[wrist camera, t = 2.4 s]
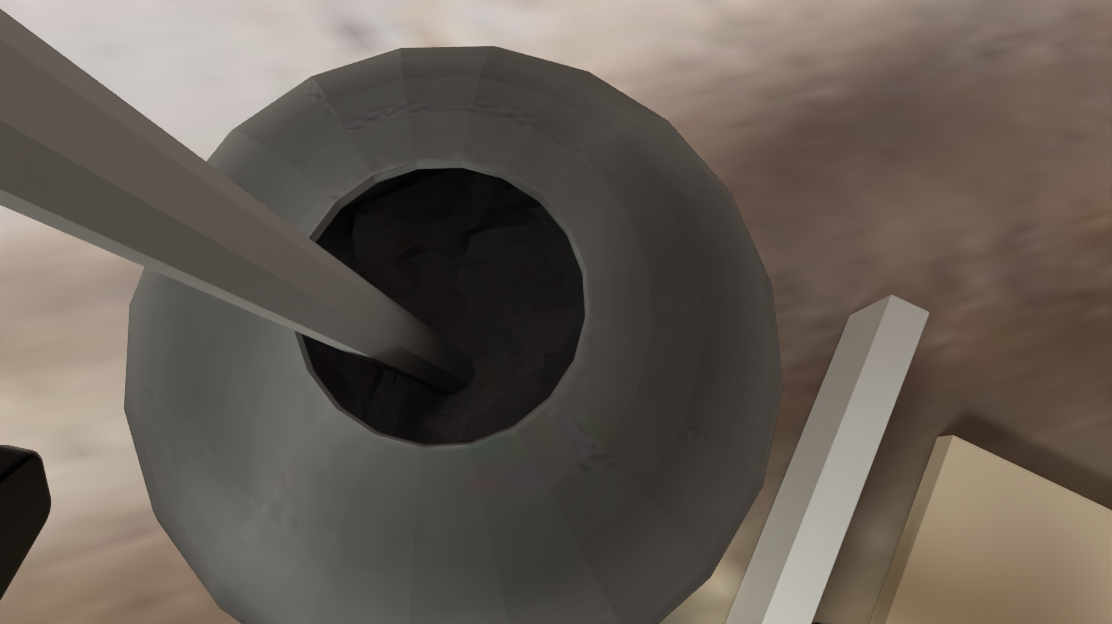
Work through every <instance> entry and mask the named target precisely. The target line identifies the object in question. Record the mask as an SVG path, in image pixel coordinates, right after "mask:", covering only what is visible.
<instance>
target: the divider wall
mask: <svg viewBox="0 0 1112 624" xmlns="http://www.w3.org/2000/svg"><path fill="white" fill-rule="evenodd" d="M929 313H930V312H928V311H926V310H924V309H922V308H919V307H917V306H915V305H913V304H911V303H909V302H907V301H904V300H902V299H900V298H898V297H896V296H894V295H892V294H891V295H889V296H887V297H885V298H883V299H881V300H879V301H877V302H875V303H873V304H871V305H869V306H867V307H865V308H863V309H861V310H859V311H857V312H855V313H853V314H851V315H850V316H849V318H848V321H847V323H846V326H845V328H844V331H843V333H842V336H841V338H840V341H839V343H838V346H837V348H836V350H835V353H834V355H833V358H832V360H831V363H830V365H829V368H828V370H827V373H826V375H825V378H824V380H823V383H822V385H821V388H820V390H819V393H818V395H817V398H816V400H815V403H814V405H813V407H812V410H811V412H810V415H809V417H808V420H807V422H806V425H805V427H804V430H803V432H802V435H801V437H800V440H799V442H798V445H797V447H796V450H795V452H794V455H793V457H792V459H791V462H790V464H789V467H788V469H787V472H786V474H785V477H784V479H783V482H782V484H781V487H780V489H779V492H778V494H777V497H776V499H775V502H774V504H773V507H772V509H771V512H770V514H769V516H768V519H767V521H766V524H765V526H764V529H763V531H762V534H761V536H760V539H759V541H758V544H757V546H756V549H755V551H754V554H753V556H752V559H751V561H750V564H749V566H748V568H747V571H746V573H745V576H744V578H743V581H742V583H741V586H740V588H739V591H738V593H737V596H736V598H735V601H734V603H733V606H732V608H731V611H730V613H729V616H728V618H727V620H726V623H725V624H811V623H812V620H813V617H814V615H815V612H816V610H817V607H818V604H819V602H820V599H821V596H822V594H823V591H824V589H825V586H826V583H827V581H828V578H829V575H830V573H831V570H832V568H833V565H834V562H835V560H836V557H837V554H838V552H839V549H840V547H841V544H842V541H843V539H844V536H845V533H846V531H847V528H848V526H849V523H850V520H851V518H852V515H853V512H854V510H855V507H856V505H857V502H858V499H859V497H860V494H861V491H862V489H863V486H864V484H865V481H866V478H867V476H868V473H869V470H870V468H871V465H872V463H873V460H874V457H875V455H876V452H877V449H878V447H879V444H880V442H881V439H882V436H883V434H884V431H885V428H886V426H887V423H888V421H889V418H890V415H891V413H892V410H893V407H894V405H895V402H896V400H897V397H898V394H899V392H900V389H901V386H902V384H903V381H904V379H905V376H906V373H907V371H908V368H909V365H910V363H911V360H912V358H913V355H914V352H915V350H916V347H917V344H918V342H919V339H920V337H921V334H922V331H923V329H924V326H925V323H926V321H927V318H928V316H929Z"/></svg>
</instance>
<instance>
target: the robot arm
mask: <svg viewBox="0 0 1112 624" xmlns="http://www.w3.org/2000/svg"><path fill="white" fill-rule="evenodd" d="M50 508H51V496H50V492H49V487H48V483H47V478H46V474H45V470H44V465H43V461H42V458H41V456H40V455H39V454H38V453H37V452H35V451H33V450H29V449H24V448H19V447H15V446H10V445H0V600H1V599H2V597H3V595H4V593H5V592H6V590H7V588H8V586H9V585H10V583H11V581H12V580H13V578H14V576H15V574H16V573H17V571H18V569H19V567H20V566H21V564H22V562H23V560H24V559H25V557H26V555H27V554H28V552H29V550H30V548H31V547H32V545H33V543H34V541H35V540H36V538H37V536H38V535H39V533H40V531H41V529H42V528H43V526H44V524H45V522H46V520H47V518H48V515H49V513H50ZM812 624H828V623H823V622H813V623H812Z"/></svg>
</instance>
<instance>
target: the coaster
mask: <svg viewBox="0 0 1112 624" xmlns="http://www.w3.org/2000/svg"><path fill="white" fill-rule="evenodd" d="M869 624H1112V510H1110V509H1108V508H1106V507H1104V506H1102V505H1100V504H1097V503H1095V502H1093V501H1091V500H1089V499H1087V498H1085V497H1083V496H1081V495H1078V494H1076V493H1074V492H1072V491H1070V490H1068V489H1066V488H1064V487H1062V486H1059V485H1057V484H1055V483H1053V482H1051V481H1049V480H1047V479H1045V478H1043V477H1041V476H1038V475H1036V474H1034V473H1032V472H1030V471H1028V470H1026V469H1024V468H1022V467H1019V466H1017V465H1015V464H1013V463H1011V462H1009V461H1007V460H1005V459H1003V458H1000V457H998V456H996V455H994V454H992V453H990V452H988V451H986V450H984V449H981V448H979V447H977V446H975V445H973V444H971V443H969V442H967V441H965V440H962V439H960V438H958V437H956V436H954V435H950V436H941V437H937V439H936V442H935V445H934V448H933V450H932V453H931V456H930V458H929V461H928V464H927V467H926V469H925V472H924V475H923V478H922V480H921V483H920V486H919V489H918V491H917V494H916V497H915V500H914V502H913V505H912V508H911V510H910V513H909V516H908V519H907V521H906V524H905V527H904V530H903V532H902V535H901V538H900V541H899V543H898V546H897V549H896V551H895V554H894V557H893V560H892V562H891V565H890V568H889V571H888V573H887V576H886V579H885V582H884V584H883V587H882V590H881V593H880V595H879V598H878V601H877V603H876V606H875V609H874V612H873V614H872V617H871V620H870V623H869Z"/></svg>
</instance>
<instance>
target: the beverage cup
mask: <svg viewBox="0 0 1112 624" xmlns="http://www.w3.org/2000/svg"><path fill="white" fill-rule="evenodd" d="M0 205H1V206H4V207H6V208H9V209H11V210H13V211H16V212H18V213H20V214H23V215H25V216H27V217H30V218H32V219H34V220H37V221H39V222H41V223H44V224H46V225H48V226H51V227H53V228H55V229H58V230H60V231H62V232H65V233H67V234H69V235H72V236H74V237H77V238H79V239H81V240H84V241H86V242H88V243H91V244H93V245H95V246H98V247H100V248H102V249H105V250H107V251H109V252H112V253H114V254H116V255H119V256H121V257H123V258H126V259H128V260H130V261H133V262H135V263H137V264H140V265H142V266H145V267H144V270H143V273H142V275H141V278H140V280H139V283H138V285H137V288H136V290H135V293H134V296H133V298H132V301H131V303H130V308H129V327H128V346H127V364H126V383H125V402H124V410H125V414H126V417H127V421H128V424H129V428H130V431H131V435H132V438H133V442H134V445H135V449H136V452H137V456H138V459H139V463H140V466H141V470H142V473H143V477H144V480H145V484H146V488H147V491H148V495H149V498H150V502H151V505H152V509H153V512H154V514H155V516H156V518H157V520H158V522H159V523H160V525H161V526H162V527H163V529H164V530H165V532H166V533H167V535H168V536H169V537H170V539H171V540H172V542H173V543H174V544H175V546H176V547H177V549H178V550H179V551H180V553H181V554H182V556H183V557H184V558H185V560H186V561H187V563H188V564H189V565H190V567H191V568H192V570H193V571H194V573H195V574H196V575H197V577H198V578H199V580H200V581H201V582H202V584H203V585H204V587H205V588H206V589H207V591H208V592H209V594H210V595H211V596H212V598H213V599H214V601H215V602H216V604H217V605H218V606H219V608H220V609H222V610H223V611H225V612H226V613H227V614H229V615H230V616H232V617H233V618H235V619H236V620H237V621H239V622H240V623H242V624H659V623H660V622H661V621H662V620H663V619H664V618H666V617H667V616H668V615H669V614H670V613H671V612H672V611H673V610H675V609H676V608H677V607H678V606H679V605H680V604H681V603H682V602H683V601H685V600H686V599H687V598H688V597H689V596H690V595H691V594H692V593H694V592H695V591H696V590H697V589H698V588H699V587H700V586H701V585H703V584H704V583H705V582H706V581H707V580H708V579H709V578H710V577H711V576H712V574H713V572H714V570H715V569H716V567H717V565H718V563H719V562H720V560H721V558H722V556H723V555H724V553H725V551H726V549H727V548H728V546H729V544H730V543H731V541H732V539H733V537H734V536H735V534H736V532H737V530H738V529H739V527H740V525H741V523H742V522H743V520H744V518H745V516H746V515H747V513H748V511H749V509H750V508H751V506H752V504H753V502H754V501H755V499H756V497H757V495H758V494H759V492H760V490H761V488H762V487H763V483H764V478H765V473H766V468H767V463H768V458H769V454H770V449H771V444H772V439H773V434H774V429H775V424H776V420H777V415H778V410H779V405H780V400H781V395H782V390H783V380H782V371H781V362H780V353H779V344H778V335H777V325H776V316H775V307H774V298H773V289H772V286H771V283H770V280H769V277H768V275H767V273H766V271H765V268H764V266H763V264H762V262H761V259H760V257H759V255H758V253H757V250H756V248H755V246H754V244H753V241H752V239H751V237H750V235H749V232H748V230H747V228H746V226H745V223H744V221H743V219H742V217H741V214H740V212H739V210H738V208H737V205H736V203H735V201H734V199H733V196H732V194H731V192H730V191H729V190H728V189H727V187H726V186H725V185H724V184H723V183H722V182H721V181H720V179H719V178H718V177H717V176H716V175H715V174H714V173H713V171H712V170H711V169H710V168H709V167H708V166H707V165H706V163H705V162H704V161H703V160H702V159H701V158H700V157H699V155H698V154H697V153H696V152H695V151H694V150H693V149H692V148H691V146H690V145H689V144H688V143H687V142H686V141H685V140H684V138H683V137H682V136H681V135H680V134H679V133H678V132H677V130H676V129H675V128H674V127H673V126H672V125H671V124H670V122H669V121H667V120H666V119H664V118H663V117H661V116H659V115H658V114H656V113H654V112H653V111H651V110H650V109H648V108H646V107H645V106H643V105H642V104H640V103H638V102H637V101H635V100H633V99H632V98H630V97H629V96H627V95H625V94H624V93H622V92H621V91H619V90H617V89H616V88H614V87H612V86H611V85H609V84H608V83H606V82H604V81H603V80H601V79H600V78H598V77H596V76H595V75H593V74H591V73H590V72H588V71H584V70H581V69H577V68H573V67H570V66H566V65H562V64H559V63H555V62H551V61H547V60H544V59H540V58H536V57H533V56H529V55H525V54H522V53H518V52H514V51H511V50H507V49H503V48H500V47H495V46H479V47H432V48H400V49H396V50H393V51H390V52H387V53H384V54H381V55H377V56H374V57H371V58H368V59H365V60H362V61H359V62H355V63H352V64H349V65H346V66H343V67H340V68H336V69H333V70H330V71H327V72H324V73H321V74H317V75H314V76H311V77H310V78H308V79H307V80H305V81H304V82H302V83H301V84H299V85H298V86H296V87H295V88H294V89H292V90H291V91H289V92H288V93H286V94H285V95H283V96H282V97H280V98H279V99H277V100H276V101H274V102H273V103H271V104H270V105H268V106H267V107H265V108H264V109H263V110H261V111H260V112H258V113H257V114H255V115H254V116H252V117H251V118H249V119H248V120H246V121H245V122H243V123H242V124H240V125H239V126H237V127H236V128H234V129H233V130H232V131H231V132H230V133H229V134H228V135H227V137H226V138H225V139H224V140H223V142H222V143H221V144H220V145H219V147H218V148H217V149H216V150H215V152H214V153H213V154H212V155H211V156H210V158H209V159H208V160H207V161H204V160H203V159H202V158H200V157H199V156H198V155H196V154H195V153H194V152H192V151H191V150H190V149H188V148H187V147H186V146H184V145H183V144H182V143H180V142H179V141H178V140H176V139H175V138H173V137H172V136H171V135H169V134H168V133H167V132H165V131H164V130H163V129H161V128H160V127H159V126H157V125H156V124H155V123H153V122H152V121H151V120H149V119H148V118H147V117H145V116H144V115H143V114H141V113H140V112H139V111H137V110H136V109H134V108H133V107H132V106H130V105H129V104H128V103H126V102H125V101H124V100H122V99H121V98H120V97H118V96H117V95H116V94H114V93H113V92H112V91H110V90H109V89H108V88H106V87H105V86H104V85H102V84H101V83H99V82H98V81H97V80H95V79H94V78H93V77H91V76H90V75H89V74H87V73H86V72H85V71H83V70H82V69H81V68H79V67H78V66H77V65H75V64H74V63H73V62H71V61H70V60H69V59H67V58H66V57H64V56H63V55H62V54H60V53H59V52H58V51H56V50H55V49H54V48H52V47H51V46H50V45H48V44H47V43H46V42H44V41H43V40H42V39H40V38H39V37H38V36H36V35H35V34H34V33H32V32H31V31H29V30H28V29H27V28H25V27H24V26H23V25H21V24H20V23H19V22H17V21H16V20H15V19H13V18H12V17H11V16H9V15H8V14H7V13H5V12H4V11H3V10H1V9H0Z"/></svg>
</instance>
